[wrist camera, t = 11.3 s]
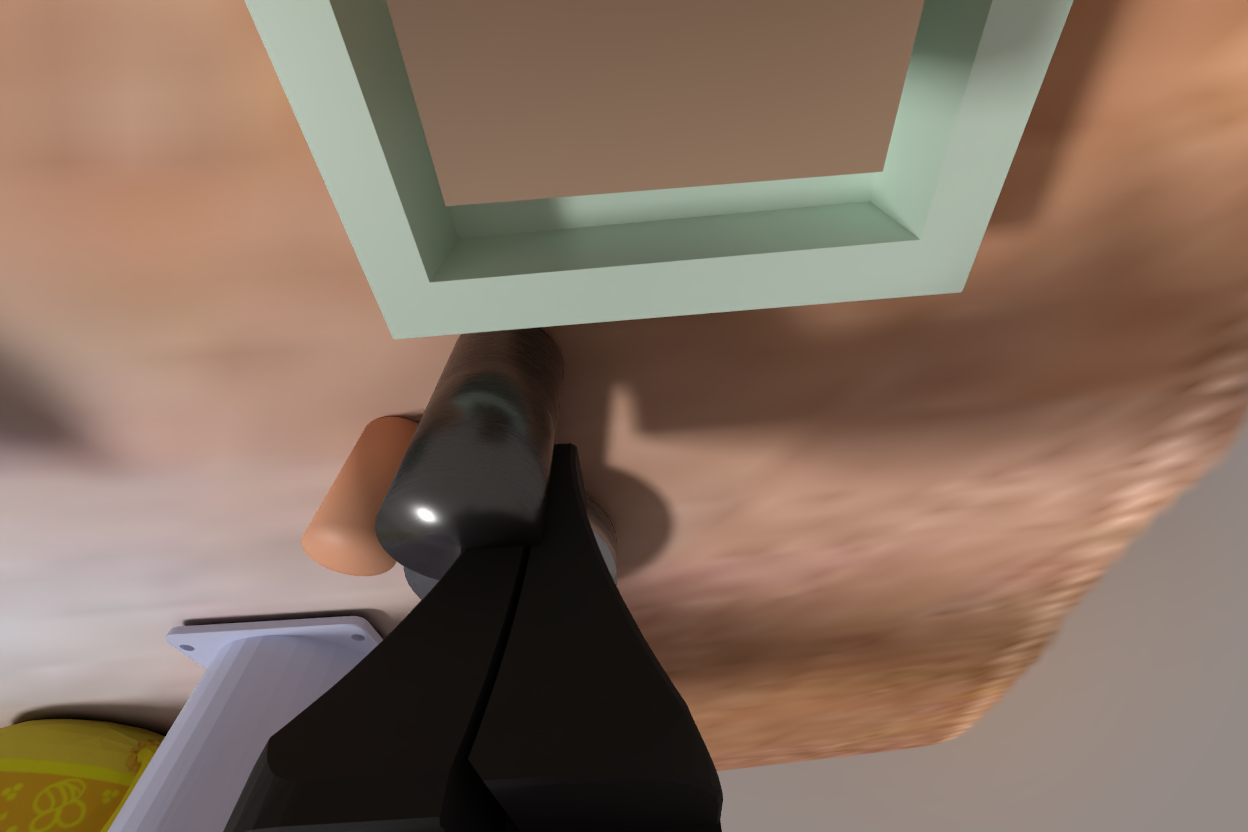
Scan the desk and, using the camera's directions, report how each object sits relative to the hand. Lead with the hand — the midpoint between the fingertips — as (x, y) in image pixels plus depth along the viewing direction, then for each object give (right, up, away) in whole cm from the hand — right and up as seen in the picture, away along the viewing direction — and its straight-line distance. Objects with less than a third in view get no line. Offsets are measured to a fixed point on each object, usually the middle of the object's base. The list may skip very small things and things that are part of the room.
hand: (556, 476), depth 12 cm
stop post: (-5, +1, +2) cm, 5 cm away
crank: (-2, -1, +3) cm, 3 cm away
